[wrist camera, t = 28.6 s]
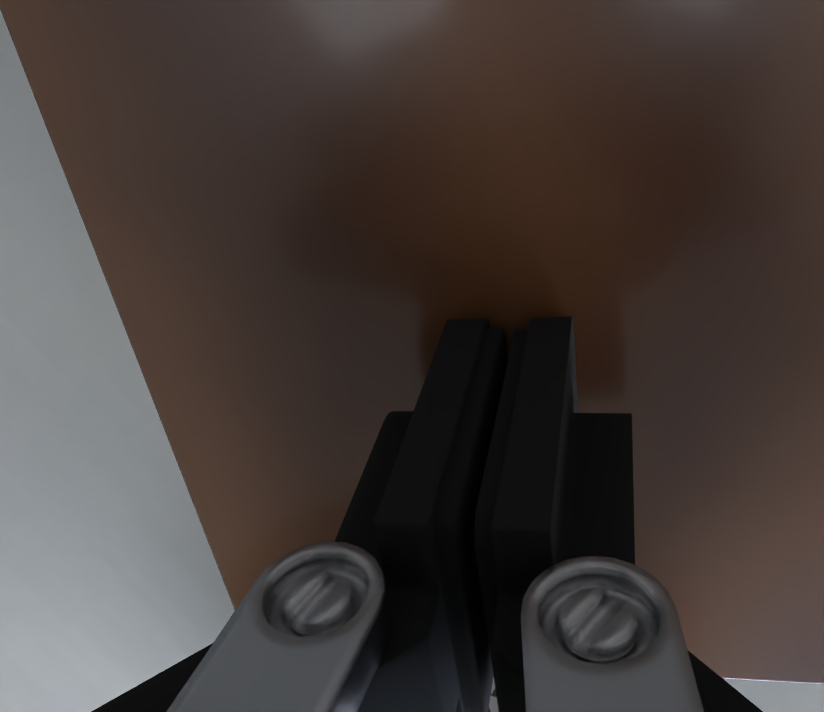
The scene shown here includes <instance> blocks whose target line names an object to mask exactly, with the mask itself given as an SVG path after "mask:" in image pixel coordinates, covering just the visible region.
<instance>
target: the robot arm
mask: <svg viewBox="0 0 824 712" xmlns="http://www.w3.org/2000/svg"><path fill="white" fill-rule="evenodd" d="M493 677H494V683H495V689H496V696H497V703H498V710H499V712H763V711H761V710H760V709H759V708H758V707H756V706H755V705H754V704H753V703H752V702H750V701H749V700H748V699H747V698H745V697H744V696H743V695H742V694H741V693H739V692H738V691H737V690H736V689H735V688H733V687H732V686H731V685H730V684H728V683H727V682H726V681H725V680H724V679H722V678H721V677H720V676H719V675H718V674H716V673H715V672H714V671H713V670H711V669H710V668H709V667H708V666H707V665H705V664H704V663H703V662H702V661H700V660H699V659H698V658H697V657H696V656H694V655H693V654H692V653H691V652H690V651H688V650H687V646H686V643H685V639H684V635H683V631H682V628H681V624H680V620H679V617H678V613H677V609H676V607H675V605H674V603H673V601H672V599H671V597H670V594H669V592H668V590H667V589H666V588H665V587H664V586H663V585H662V584H661V583H660V582H659V581H658V580H657V579H656V578H655V577H654V576H653V575H652V574H650V573H648V572H646V571H645V570H643V569H641V568H640V567H638V566H636V565H635V533H634V487H633V440H632V413H578V402H577V381H576V360H575V339H574V323H573V317H532V318H531V320H530V324H529V328H516V329H515V331H514V336H513V340H512V345H511V350H510V354H509V359H508V355H507V345H506V336H505V331H504V329H491V325H490V322H489V320H488V318H485V319H449V320H447V322H446V324H445V326H444V329H443V332H442V335H441V337H440V340H439V343H438V346H437V348H436V351H435V354H434V357H433V359H432V362H431V365H430V368H429V370H428V373H427V376H426V379H425V381H424V384H423V387H422V390H421V392H420V395H419V398H418V401H417V403H416V406H415V409H414V411H391V412H390V413H388V414H387V416H386V418H385V420H384V422H383V424H382V427H381V429H380V432H379V434H378V436H377V439H376V441H375V444H374V446H373V449H372V451H371V453H370V456H369V458H368V461H367V463H366V466H365V468H364V471H363V473H362V475H361V478H360V480H359V483H358V485H357V488H356V490H355V493H354V495H353V497H352V500H351V502H350V505H349V507H348V510H347V512H346V514H345V517H344V519H343V522H342V524H341V527H340V529H339V532H338V534H337V536H336V539H335V541H334V542H330V541H325V542H319V543H314V544H309V545H305V546H302V547H300V548H297V549H295V550H293V551H290V552H288V553H286V554H285V555H283V556H282V557H280V558H279V559H277V560H276V561H274V562H273V563H272V564H270V565H269V566H268V567H267V568H266V570H265V571H264V572H263V573H262V574H261V575H260V576H259V577H258V579H257V580H256V581H255V583H254V584H253V586H252V587H251V589H250V590H249V591H248V593H247V594H246V596H245V597H244V599H243V600H242V602H241V603H240V605H239V606H238V608H237V609H236V611H235V612H234V613H233V615H232V616H231V618H230V619H229V621H228V622H227V624H226V625H225V627H224V628H223V630H222V631H221V633H220V634H219V635H218V637H217V638H216V640H215V641H214V643H212V644H211V645H209V646H207V647H205V648H204V649H202V650H200V651H198V652H196V653H195V654H193V655H191V656H189V657H188V658H186V659H184V660H182V661H181V662H179V663H177V664H175V665H173V666H172V667H170V668H168V669H166V670H165V671H163V672H161V673H159V674H157V675H156V676H154V677H152V678H150V679H149V680H147V681H145V682H143V683H141V684H140V685H138V686H136V687H134V688H133V689H131V690H129V691H127V692H125V693H124V694H122V695H120V696H118V697H117V698H115V699H113V700H111V701H110V702H108V703H106V704H104V705H102V706H101V707H99V708H97V709H95V710H94V711H92V712H488V708H489V703H490V697H491V690H492V684H493Z"/></svg>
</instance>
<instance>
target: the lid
mask: <svg viewBox="0 0 824 712" xmlns="http://www.w3.org/2000/svg"><path fill="white" fill-rule="evenodd" d="M0 9H1V12H2V14H3V17H4V20H5V22H6V25H7V27H8V30H9V32H10V35H11V37H12V40H13V43H14V45H15V48H16V50H17V53H18V55H19V58H20V61H21V63H22V66H23V68H24V71H25V73H26V76H27V78H28V81H29V84H30V86H31V89H32V91H33V94H34V96H35V99H36V102H37V104H38V107H39V109H40V112H41V114H42V117H43V120H44V122H45V125H46V127H47V130H48V132H49V135H50V137H51V140H52V143H53V145H54V148H55V150H56V153H57V155H58V158H59V161H60V163H61V166H62V168H63V171H64V173H65V176H66V178H67V181H68V184H69V186H70V189H71V191H72V194H73V196H74V199H75V202H76V204H77V207H78V209H79V212H80V214H81V217H82V219H83V222H84V225H85V227H86V230H87V232H88V235H89V237H90V240H91V243H92V245H93V248H94V250H95V253H96V255H97V258H98V260H99V263H100V266H101V268H102V271H103V273H104V276H105V278H106V281H107V284H108V286H109V289H110V291H111V294H112V296H113V299H114V301H115V304H116V307H117V309H118V312H119V314H120V317H121V319H122V322H123V325H124V327H125V330H126V332H127V335H128V337H129V340H130V342H131V345H132V348H133V350H134V353H135V355H136V358H137V360H138V363H139V366H140V368H141V371H142V373H143V376H144V378H145V381H146V383H147V386H148V389H149V391H150V394H151V396H152V399H153V401H154V404H155V407H156V409H157V412H158V414H159V417H160V419H161V422H162V424H163V427H164V430H165V432H166V435H167V437H168V440H169V442H170V445H171V448H172V450H173V453H174V455H175V458H176V460H177V463H178V466H179V468H180V471H181V473H182V476H183V478H184V481H185V483H186V486H187V489H188V491H189V494H190V496H191V499H192V501H193V504H194V507H195V509H196V512H197V514H198V517H199V519H200V522H201V524H202V527H203V530H204V532H205V535H206V537H207V540H208V542H209V545H210V548H211V550H212V553H213V555H214V558H215V560H216V563H217V565H218V568H219V571H220V573H221V576H222V578H223V581H224V583H225V586H226V589H227V591H228V594H229V596H230V599H231V601H232V604H233V606H234V609H235V611H236V609H237V608H238V606H239V605H240V603H241V602H242V600H243V599H244V597H245V596H246V594H247V593H248V591H249V590H250V589H251V587H252V586H253V584H254V583H255V581H256V580H257V579H258V577H259V576H260V575H261V574H262V573H263V572H264V571H265V570H266V568H267V567H268V566H269V565H270V564H272V563H273V562H274V561H276V560H277V559H279V558H280V557H282V556H283V555H285V554H286V553H288V552H290V551H293V550H295V549H297V548H300V547H302V546H305V545H309V544H314V543H319V542H325V541H330V542H334V541H335V539H336V536H337V534H338V532H339V529H340V527H341V524H342V522H343V519H344V517H345V514H346V512H347V510H348V507H349V505H350V502H351V500H352V497H353V495H354V493H355V490H356V488H357V485H358V483H359V480H360V478H361V475H362V473H363V471H364V468H365V466H366V463H367V461H368V458H369V456H370V453H371V451H372V449H373V446H374V444H375V441H376V439H377V436H378V434H379V432H380V429H381V427H382V424H383V422H384V420H385V418H386V416H387V414H388V413H390V412H391V411H414V409H415V406H416V403H417V401H418V398H419V395H420V392H421V390H422V387H423V384H424V381H425V379H426V376H427V373H428V370H429V368H430V365H431V362H432V359H433V357H434V354H435V351H436V348H437V346H438V343H439V340H440V337H441V335H442V332H443V329H444V326H445V324H446V322H447V320H449V319H485V318H488V320H489V322H490V325H491V329H504V331H505V336H506V345H507V355H508V359H509V354H510V350H511V345H512V340H513V336H514V331H515V329H516V328H529V324H530V320H531V318H532V317H573V323H574V339H575V360H576V381H577V402H578V413H632V440H633V487H634V533H635V565H636V566H638V567H640V568H641V569H643V570H645V571H646V572H648V573H650V574H652V575H653V576H654V577H655V578H656V579H657V580H658V581H659V582H660V583H661V584H662V585H663V586H664V587H665V588H666V589H667V590H668V592H669V594H670V597H671V599H672V601H673V603H674V605H675V607H676V609H677V613H678V617H679V620H680V624H681V628H682V631H683V635H684V639H685V643H686V646H687V650H688V651H690V652H691V653H692V654H693V655H694V656H696V657H697V658H698V659H699V660H700V661H702V662H703V663H704V664H705V665H707V666H708V667H709V668H710V669H711V670H713V671H714V672H715V673H716V674H718V675H719V676H720V677H721V678H722V679H740V680H758V681H776V682H794V683H811V684H824V0H0Z"/></svg>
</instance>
